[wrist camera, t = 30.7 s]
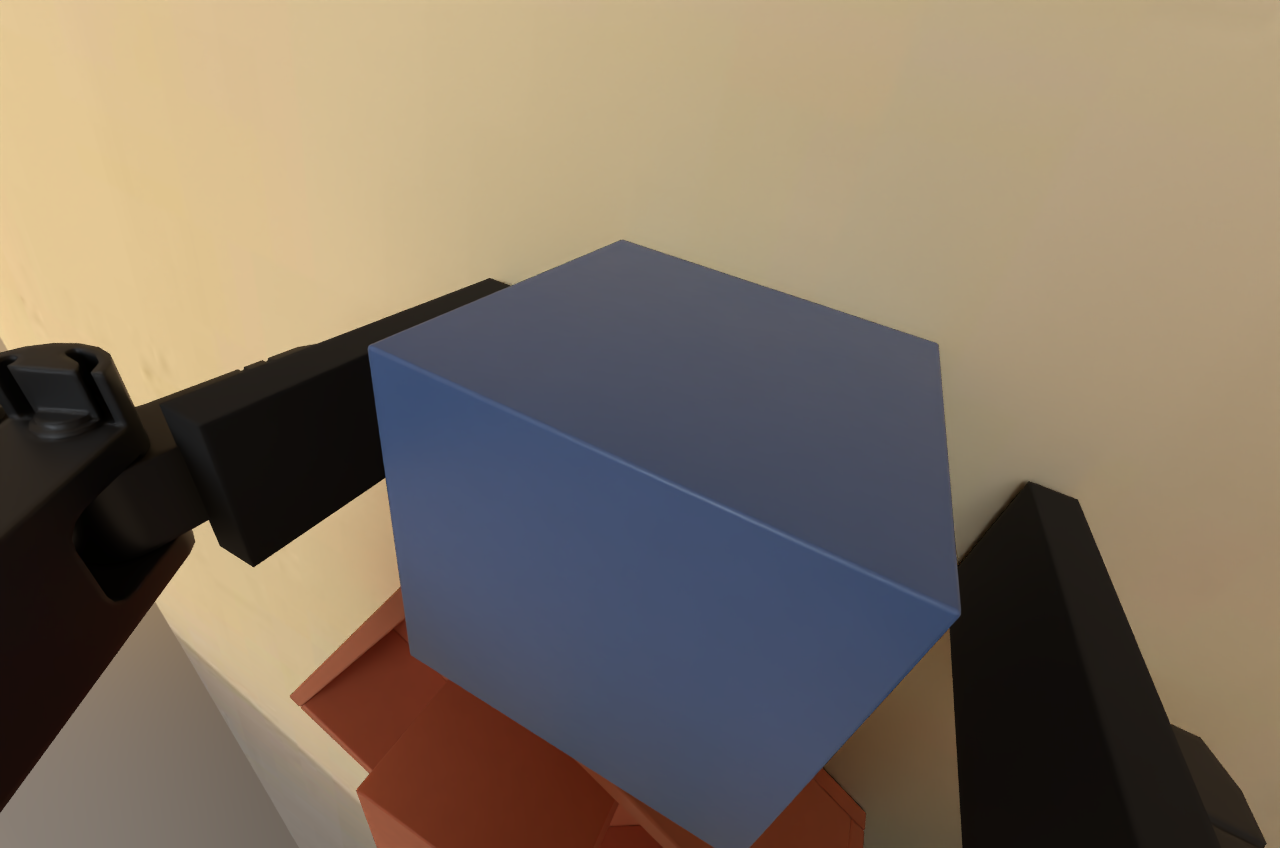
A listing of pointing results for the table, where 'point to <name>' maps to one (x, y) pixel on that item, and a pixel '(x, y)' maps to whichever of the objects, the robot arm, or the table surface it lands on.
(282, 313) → the table surface
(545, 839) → the rust block
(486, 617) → the slate block
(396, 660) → the rust bin
